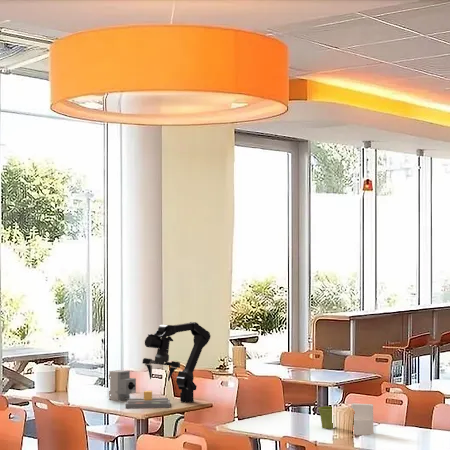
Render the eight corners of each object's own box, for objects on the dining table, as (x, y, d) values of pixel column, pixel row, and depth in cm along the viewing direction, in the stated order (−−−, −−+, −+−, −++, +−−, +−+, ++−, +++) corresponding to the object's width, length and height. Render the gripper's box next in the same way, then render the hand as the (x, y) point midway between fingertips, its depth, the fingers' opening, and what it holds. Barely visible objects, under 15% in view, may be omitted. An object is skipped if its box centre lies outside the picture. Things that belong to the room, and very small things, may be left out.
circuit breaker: (128, 401, 498) (128, 372, 498) (108, 399, 506) (108, 371, 507) (138, 399, 504) (138, 371, 504) (118, 397, 512) (118, 370, 513)
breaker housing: (170, 403, 489) (170, 397, 489) (169, 407, 475) (169, 401, 475) (127, 404, 488) (127, 397, 488) (125, 408, 474) (125, 401, 474)
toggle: (152, 400, 484) (152, 390, 485) (151, 401, 479) (151, 391, 480) (144, 400, 484) (144, 390, 484) (143, 402, 479) (143, 392, 479)
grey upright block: (349, 434, 394) (349, 405, 395) (354, 430, 403) (354, 402, 403) (371, 435, 391) (370, 406, 392) (375, 431, 399) (375, 403, 400)
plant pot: (325, 430, 404) (324, 410, 404) (314, 427, 413) (314, 407, 413) (344, 428, 408) (343, 408, 408) (333, 425, 416) (332, 405, 417)
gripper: (142, 346, 478) (138, 377, 476) (178, 350, 476) (175, 382, 474) (146, 347, 489) (142, 377, 487) (181, 351, 487) (178, 382, 485)
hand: (159, 380), depth 483 cm, fingers open, 9 cm apart
